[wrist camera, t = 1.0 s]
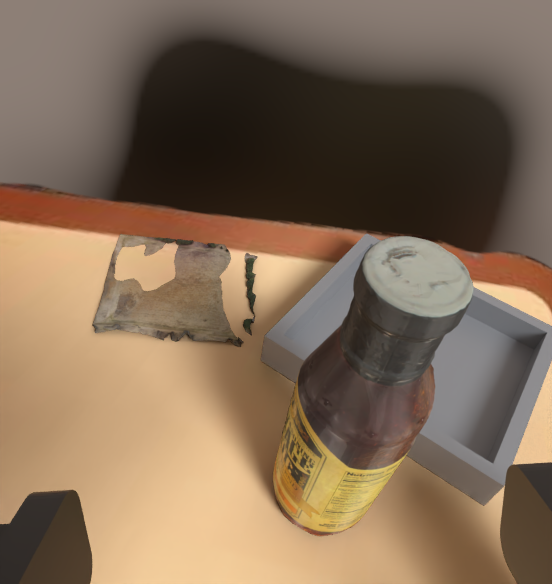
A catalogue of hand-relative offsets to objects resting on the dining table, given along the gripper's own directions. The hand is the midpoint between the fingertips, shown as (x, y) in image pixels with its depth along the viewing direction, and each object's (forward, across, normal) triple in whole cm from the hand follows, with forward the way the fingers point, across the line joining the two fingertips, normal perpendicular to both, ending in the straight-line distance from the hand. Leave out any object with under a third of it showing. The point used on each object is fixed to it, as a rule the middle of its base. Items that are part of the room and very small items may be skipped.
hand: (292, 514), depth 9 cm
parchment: (+34, +8, +6) cm, 36 cm away
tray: (+29, -10, +12) cm, 33 cm away
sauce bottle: (+19, -2, +16) cm, 24 cm away
